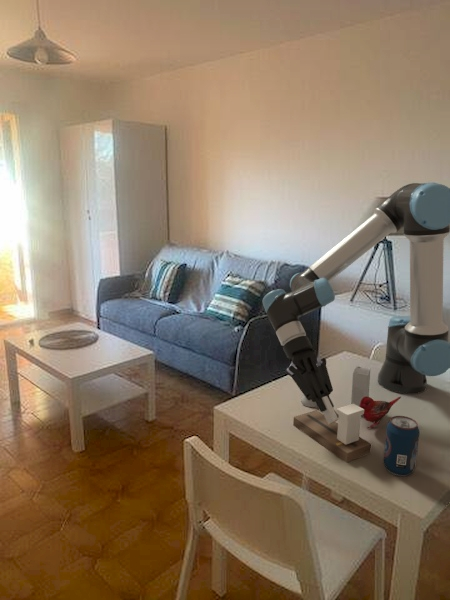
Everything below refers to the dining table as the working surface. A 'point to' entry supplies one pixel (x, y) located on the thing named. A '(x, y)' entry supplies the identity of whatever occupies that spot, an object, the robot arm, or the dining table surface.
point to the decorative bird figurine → (375, 409)
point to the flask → (308, 402)
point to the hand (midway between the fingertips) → (333, 421)
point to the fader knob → (349, 423)
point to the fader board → (330, 436)
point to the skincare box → (360, 385)
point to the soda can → (401, 445)
